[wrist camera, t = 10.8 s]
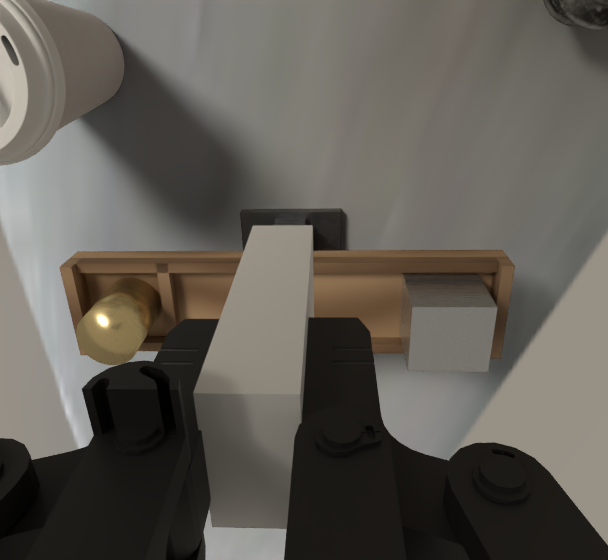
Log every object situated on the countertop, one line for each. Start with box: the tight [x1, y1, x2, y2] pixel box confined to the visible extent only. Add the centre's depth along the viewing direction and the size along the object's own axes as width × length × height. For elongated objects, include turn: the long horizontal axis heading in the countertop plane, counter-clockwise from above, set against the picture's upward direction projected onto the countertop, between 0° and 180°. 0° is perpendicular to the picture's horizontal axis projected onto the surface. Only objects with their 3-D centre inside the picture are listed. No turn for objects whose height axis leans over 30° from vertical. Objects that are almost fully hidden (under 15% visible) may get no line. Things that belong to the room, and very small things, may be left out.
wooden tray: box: [60, 250, 515, 359], centre depth 38 cm, size 7×30×3 cm, turn 91°
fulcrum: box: [240, 209, 341, 251], centre depth 41 cm, size 9×8×8 cm
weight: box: [76, 277, 162, 365], centre depth 36 cm, size 4×4×5 cm
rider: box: [399, 273, 498, 372], centre depth 35 cm, size 5×5×5 cm
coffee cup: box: [0, 0, 125, 165], centre depth 32 cm, size 10×10×15 cm
